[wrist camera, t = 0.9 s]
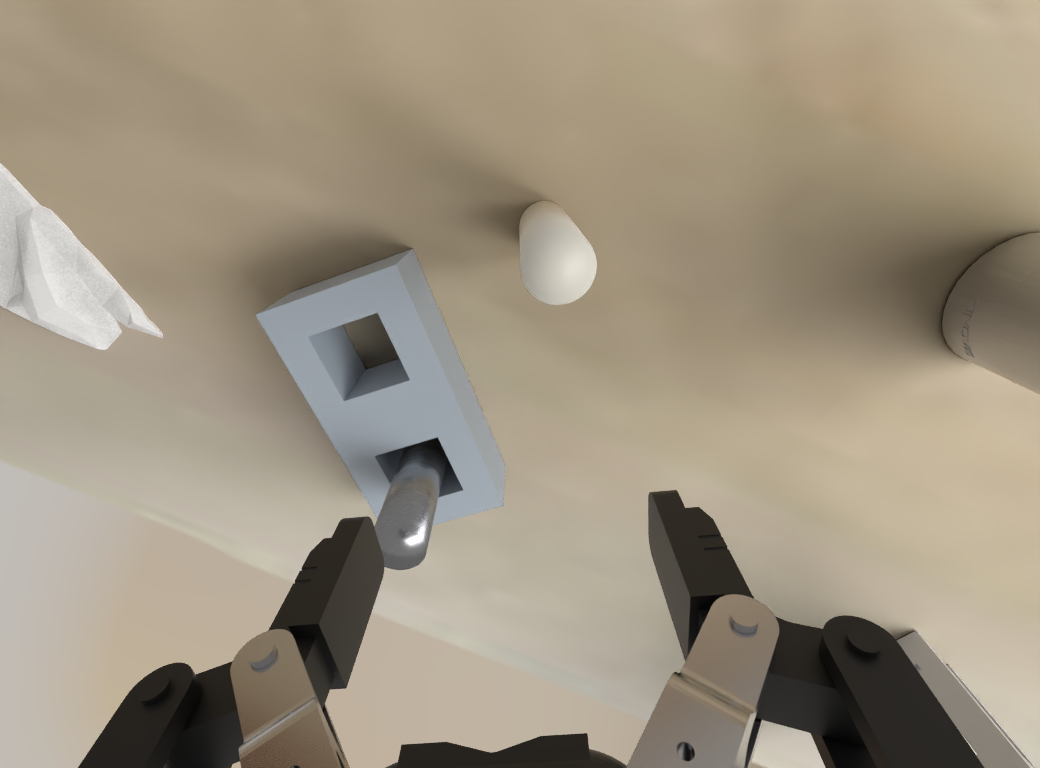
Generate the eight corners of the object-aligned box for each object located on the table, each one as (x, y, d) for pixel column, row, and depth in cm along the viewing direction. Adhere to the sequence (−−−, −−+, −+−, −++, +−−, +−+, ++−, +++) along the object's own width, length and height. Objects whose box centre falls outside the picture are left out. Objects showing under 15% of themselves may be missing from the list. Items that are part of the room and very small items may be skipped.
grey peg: (442, 412, 37) (411, 520, 26) (458, 445, 38) (435, 561, 28) (404, 424, 37) (358, 535, 27) (420, 456, 39) (383, 575, 28)
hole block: (413, 248, 32) (395, 264, 27) (505, 464, 39) (503, 505, 35) (291, 292, 33) (255, 314, 28) (402, 494, 40) (388, 537, 36)
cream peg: (560, 193, 30) (585, 216, 20) (574, 243, 32) (605, 291, 21) (512, 210, 31) (510, 243, 20) (528, 259, 32) (534, 314, 21)
